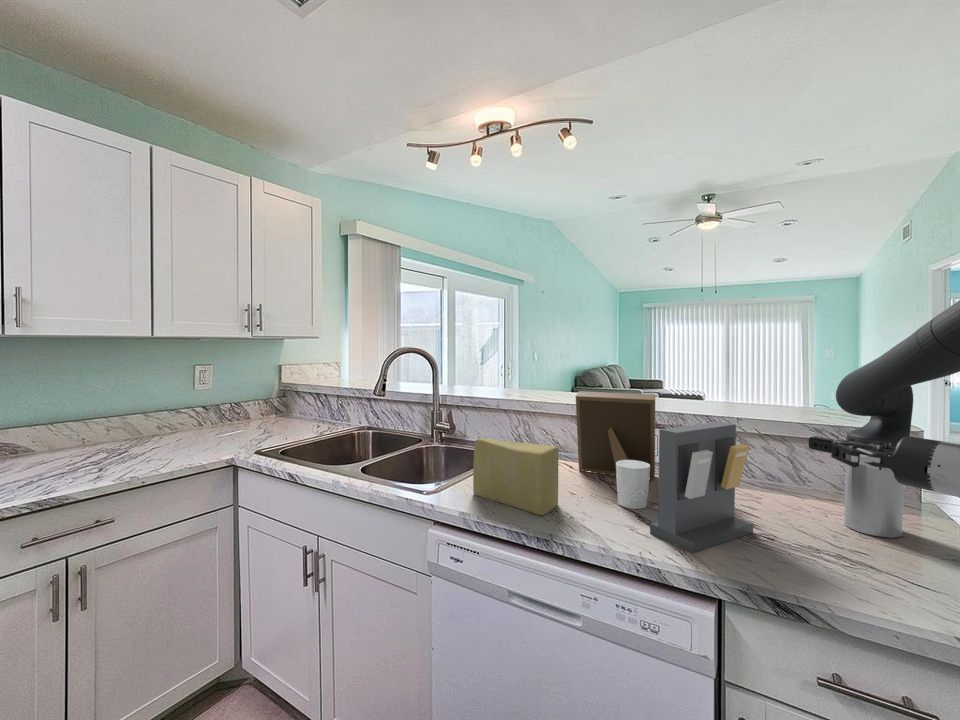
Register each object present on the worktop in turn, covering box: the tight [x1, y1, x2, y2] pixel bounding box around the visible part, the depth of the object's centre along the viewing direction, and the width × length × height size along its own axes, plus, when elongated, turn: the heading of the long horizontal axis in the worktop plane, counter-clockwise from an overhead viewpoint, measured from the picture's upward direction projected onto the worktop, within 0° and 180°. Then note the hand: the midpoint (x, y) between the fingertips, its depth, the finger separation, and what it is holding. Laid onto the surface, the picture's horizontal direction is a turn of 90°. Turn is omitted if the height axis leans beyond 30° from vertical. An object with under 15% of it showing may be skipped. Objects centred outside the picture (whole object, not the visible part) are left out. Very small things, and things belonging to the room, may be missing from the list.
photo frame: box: [575, 390, 656, 480], centre depth 131 cm, size 15×22×25 cm
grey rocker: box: [685, 450, 713, 499], centre depth 87 cm, size 4×1×9 cm, turn 118°
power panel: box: [649, 421, 754, 554], centre depth 93 cm, size 19×10×22 cm, turn 118°
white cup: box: [615, 460, 650, 510], centre depth 110 cm, size 8×8×10 cm
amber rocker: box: [721, 443, 750, 489], centre depth 92 cm, size 4×1×9 cm, turn 118°
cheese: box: [472, 437, 559, 517], centre depth 112 cm, size 22×10×15 cm, turn 55°
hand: (810, 442), depth 81 cm, fingers closed
